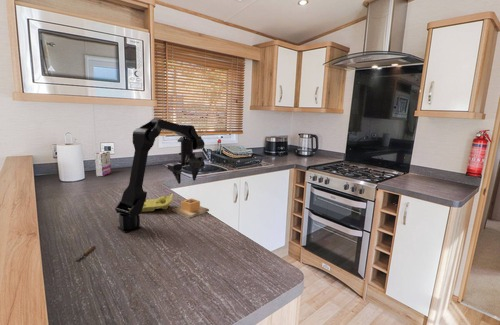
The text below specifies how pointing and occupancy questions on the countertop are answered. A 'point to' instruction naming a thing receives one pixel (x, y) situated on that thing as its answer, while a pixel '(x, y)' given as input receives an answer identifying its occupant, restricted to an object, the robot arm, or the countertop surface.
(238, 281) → the countertop surface
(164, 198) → the plastic component
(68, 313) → the countertop surface
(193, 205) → the orange nut
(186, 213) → the beige peg base
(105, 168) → the candy bar box
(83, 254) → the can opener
